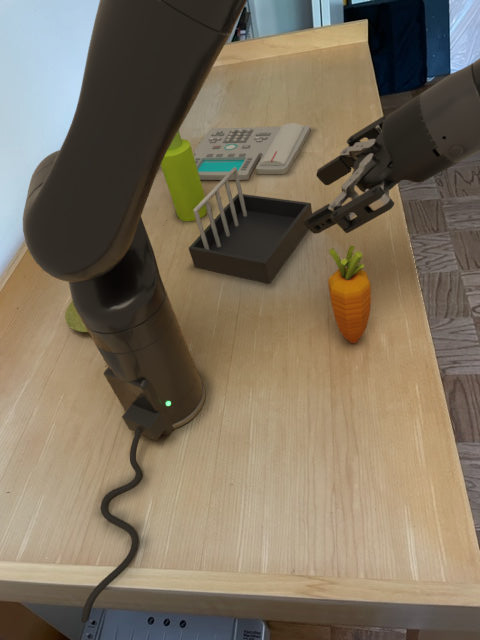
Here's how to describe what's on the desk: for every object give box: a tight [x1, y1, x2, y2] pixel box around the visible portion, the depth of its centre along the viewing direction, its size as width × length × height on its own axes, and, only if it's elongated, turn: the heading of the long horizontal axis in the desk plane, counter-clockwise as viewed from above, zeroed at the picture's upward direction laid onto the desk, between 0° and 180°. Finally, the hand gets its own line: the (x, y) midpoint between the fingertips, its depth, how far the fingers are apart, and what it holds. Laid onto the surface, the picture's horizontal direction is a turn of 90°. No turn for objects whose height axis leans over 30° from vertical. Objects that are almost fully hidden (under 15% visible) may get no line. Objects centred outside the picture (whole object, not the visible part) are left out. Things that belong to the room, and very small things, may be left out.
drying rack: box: [188, 167, 313, 285], centre depth 85 cm, size 16×14×10 cm
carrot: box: [327, 245, 372, 344], centre depth 64 cm, size 5×5×15 cm
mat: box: [64, 301, 89, 333], centre depth 83 cm, size 11×11×2 cm
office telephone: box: [193, 122, 312, 181], centre depth 111 cm, size 23×3×20 cm
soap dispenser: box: [160, 129, 208, 223], centre depth 92 cm, size 6×7×20 cm
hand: (315, 201), depth 62 cm, fingers open, 8 cm apart
